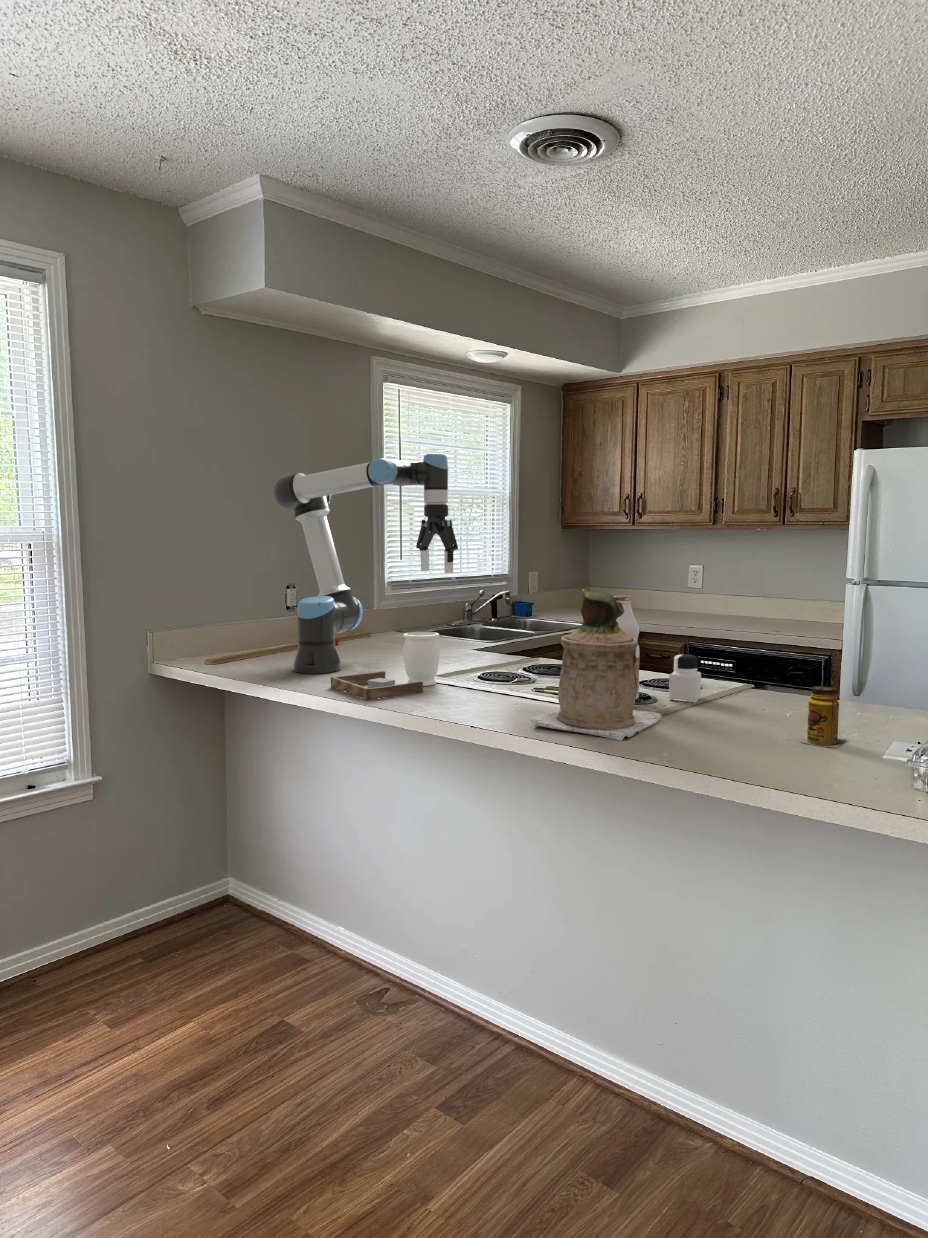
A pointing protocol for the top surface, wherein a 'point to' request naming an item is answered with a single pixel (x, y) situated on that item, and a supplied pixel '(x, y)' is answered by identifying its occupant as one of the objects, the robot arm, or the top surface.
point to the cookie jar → (598, 676)
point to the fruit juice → (629, 628)
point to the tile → (380, 682)
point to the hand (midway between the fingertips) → (436, 572)
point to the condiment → (823, 718)
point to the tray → (351, 681)
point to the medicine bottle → (685, 679)
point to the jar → (421, 656)
